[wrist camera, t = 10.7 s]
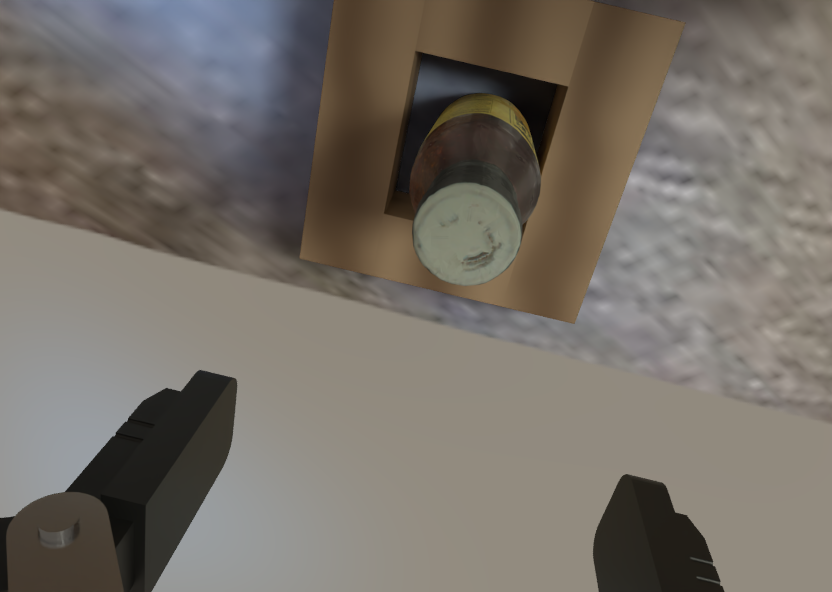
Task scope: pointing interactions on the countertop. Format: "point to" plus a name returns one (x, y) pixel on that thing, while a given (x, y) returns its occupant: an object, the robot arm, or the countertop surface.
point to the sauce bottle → (473, 189)
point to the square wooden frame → (557, 155)
